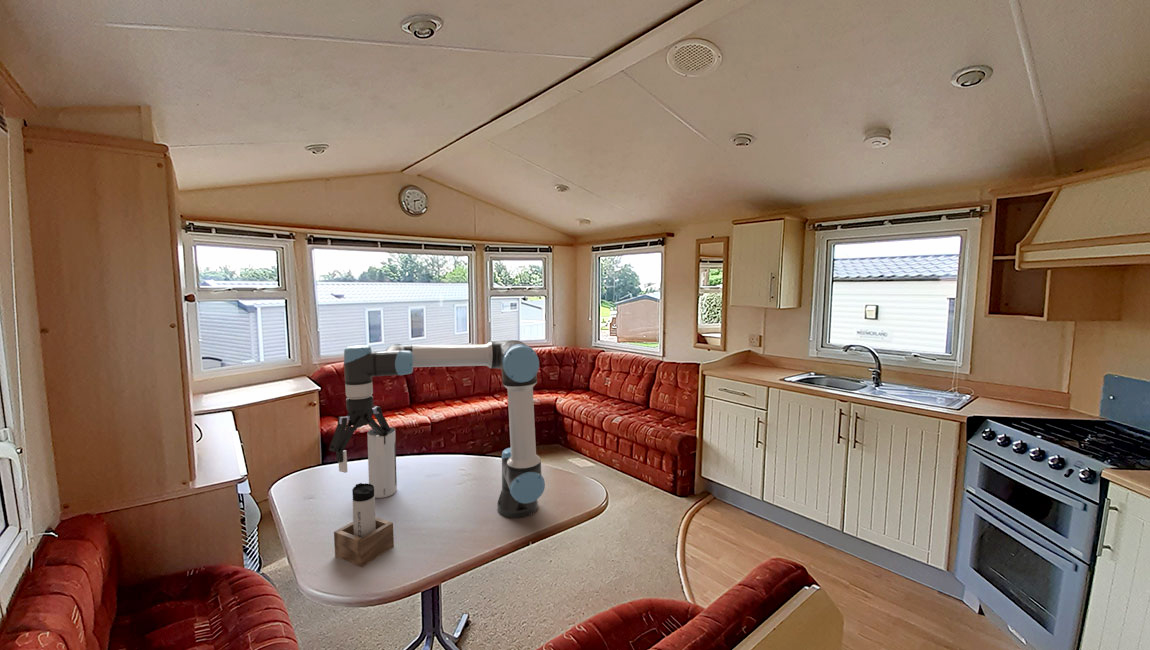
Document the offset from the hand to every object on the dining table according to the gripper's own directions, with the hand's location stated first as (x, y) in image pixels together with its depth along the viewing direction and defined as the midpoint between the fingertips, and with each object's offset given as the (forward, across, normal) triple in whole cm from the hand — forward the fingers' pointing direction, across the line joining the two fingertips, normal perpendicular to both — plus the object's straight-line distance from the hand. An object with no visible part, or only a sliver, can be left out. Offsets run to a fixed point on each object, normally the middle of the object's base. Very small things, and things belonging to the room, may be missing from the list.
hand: (362, 463), depth 141 cm
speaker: (+29, -31, -27) cm, 50 cm away
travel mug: (+28, 0, 0) cm, 28 cm away
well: (+29, 0, 0) cm, 29 cm away
